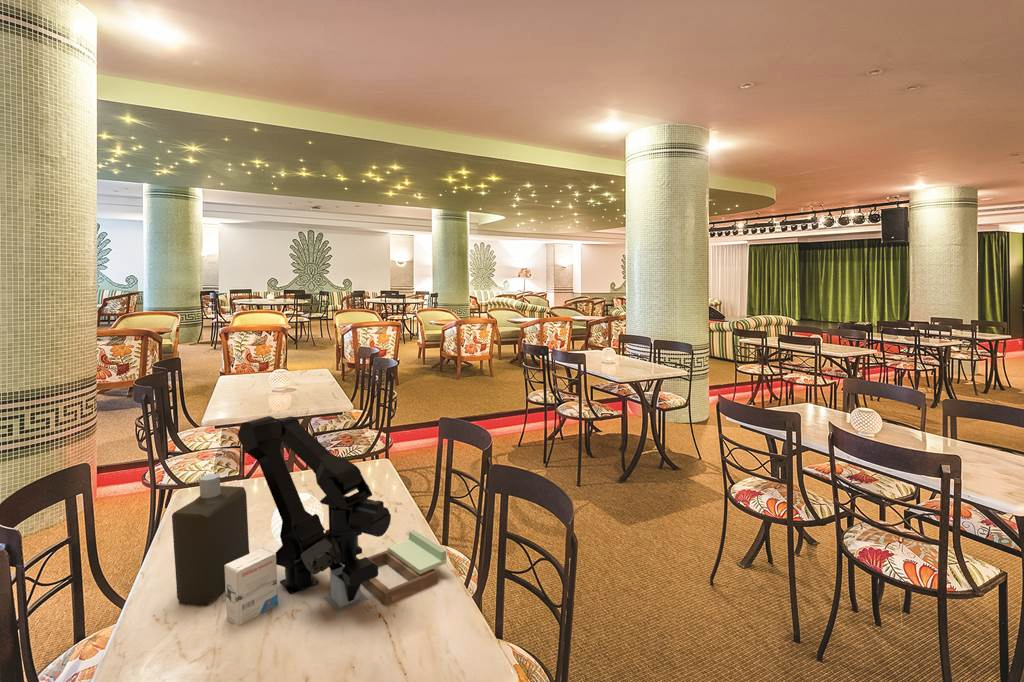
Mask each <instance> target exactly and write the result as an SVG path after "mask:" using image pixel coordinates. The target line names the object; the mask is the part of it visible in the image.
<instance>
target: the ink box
mask: <svg viewBox="0 0 1024 682" xmlns="http://www.w3.org/2000/svg"><path fill="white" fill-rule="evenodd" d="M224 566H225V590H224V591H225V607H226V609H225V610H226V619H227V620H229V622H231V623H232V624H234V625H238V626H241V625H242V624H244V623H246V622H249V621H250V620H252V619H254V618H255V617H258V616H259V615H261V614H263V613H264V612H267V611H268V610H271V609H272V608H273V607H275V606H277V605H278V604H279V599H278V597H279V595H278V574H277V573H278V572H277V564H276V552H273V551H271V550H269V549H267V548H264V547H261V548H259V549H256V550H255V551H252V552H249V554H248V555H245V556H243V557H241V558H239V559H236V560H234V561H232V562H230V563H228V564H225V565H224Z"/></svg>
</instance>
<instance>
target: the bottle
mask: <svg viewBox="0 0 1024 682" xmlns="http://www.w3.org/2000/svg"><path fill="white" fill-rule="evenodd" d="M220 477H221V476H220V475H219V474H218V473H209V474H204V475H202V476H200V477H198V482H199V496H198V497H197V498H195V500H192V501H190V502H189V503H188V504H186V505H184V506H183V507H181V508H179V509H177V510H176V511H174V512H172V514H171V523H172V536H173V537H172V538H173V553H174V556H173V557H174V567H175V583H176V584H175V585H176V598H177V600H178V604H180V605H189V606H202V607H204V606H205V607H207V606H208V605H209V604H210V603H211V602H213V601H214V600H215V599H216V598H217V597H218V596H219V595H220V594H221V593H223V592H224V591H226V590H225V566H224V565H225V564H228V563H230V562H232V561H234V560H236V559H239V558H241V557H243V556H245V555H248V554H250V545H249V544H250V541H249V524H248V523H249V521H248V520H249V519H248V501H247V498H248V497H247V491H246V488H245V487H244V486H231V485H228V486H227V485H225V486H224V485H221V479H220Z"/></svg>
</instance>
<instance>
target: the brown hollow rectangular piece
mask: <svg viewBox="0 0 1024 682" xmlns="http://www.w3.org/2000/svg"><path fill="white" fill-rule="evenodd" d="M367 558H368V559H370V560H371V561H372V562H374V563H375V564H376V565H377V566H378V568H379V567H381V566H383V565H387V566H388V567H390V569H392V570H393V571H394V572H396V573H397V575H398V574H399V575H400V576H401V577H402V578H404V579H405V580H406V581H405V582H403V583H401V584H398V585H396V586H394V587H392V588H389V587H387V585H385V584H384V583H382V582H381V581H380V580H379V579H378V578H377V577H375V578H372V579H370V580H367V581H365V582H362V583H361V585H360V586H362V587H364V589H366V590H367V591H368V592H369V593H371V594H372V595H373V596H374V597H375V598H376V599H377V600H378V601H379V602H380V603H382V604H383V606H389V605H391V604H394V603H395V602H397V601H400V600H402V599H405V598H407V597H409V596H411V595H413V594H415V593H417V592H420V591H422V590H425V589H426V588H430V587H432V586H434V585H436V584H437V583H438V571H437V570H436V569H435V568H434V569H431V570H429V571H427V572H424V573H422V574H419V573H417V572H416V571H414V570H413V569H412V568H410V567H409V566H408V565H406V564H405V563H404V562H402V561H401V560H399V559H398V558H397V557H395V556H394V555H393V554H391V553H390V552H389V551H388V549H387V550H386V549H385V550H384V551H381V552H378V553H376V554H374V555H370V556H368V557H367Z"/></svg>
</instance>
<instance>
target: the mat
mask: <svg viewBox="0 0 1024 682" xmlns="http://www.w3.org/2000/svg"><path fill="white" fill-rule="evenodd" d="M322 599H323V600H324V601H325V602H326V603H327V604H328V605H329V606H330V607H331V608H332V609H333V610H334V611H335V613H340V612H343V611H345V610H347V609H349V608H351V607H355V606H357V605H358V604H361V603H363V602H366V601H369V598H368V597H367V596H366V595H365V594H363V592H361V591H360V599H359V600H356V601H354V602H352V603H349V604H347V605H345V606H342V607H339V606H338V604H337V603H336V602H335V601H334V600H333V599H332V598H331V593H330V594H328V595H326V596H323V597H322Z"/></svg>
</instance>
